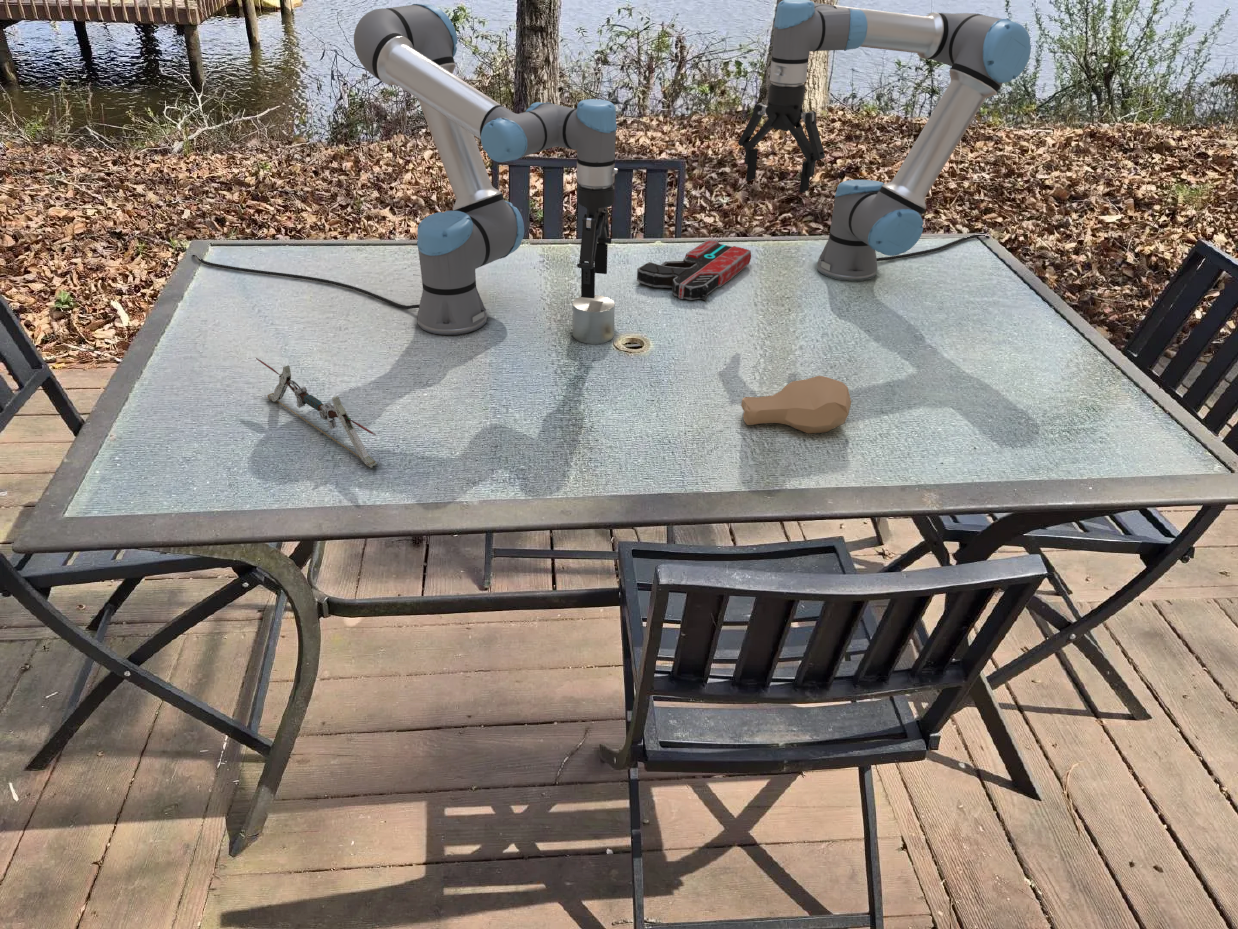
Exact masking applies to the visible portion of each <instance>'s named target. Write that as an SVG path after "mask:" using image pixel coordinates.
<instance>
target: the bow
mask: <svg viewBox="0 0 1238 929" xmlns="http://www.w3.org/2000/svg"><path fill="white" fill-rule="evenodd" d="M255 359H256V360H257V361H258V362H259V363H261V364H262V365H264V367H266V368H268V369H269V370H271V371H272V372H274V373H275V374H277V375H278V384H277V385H276V386H275V388H274V390H273V392H271V393H269V394H267V395H266V396H267V398H268V400H269V401H272V402H273V403H275V402H277V403H278V404H280V405H281V406H282V407H284V408H285V409H287V410H288V411H290V412H292V413H293V414H294V415H296V416H297V417H299V418H300V419H302V420H303V421H305V422H306V423H308V424H309V425H310V426H312V427H313V428H315V429H316V430H318V431H319V432H321V434H322V433H323V434H324V435H325V436H327V437H328V438H330V439H332V441H334V442H336V443H337V444H338V445H339V446H341V447H342V448H345V449H346V450H347V451H349V452H350V453H351V454H353V455H355V456H356V457H358V458H359V459H361V461H362V462H363V463H364V464H365V465H366V466H367V467H368V468H370V469H372V468H373V467H374V466H378V463H377V462H376V460H374V458H372V457H371V455H370V454H369V453H368V451H367V449H366V447H365V445H364V443H363V442H362V440H361V438H360V436H359V434H358V433H357V431H356V429H355V426H354V425H353V424H355V425H356V426H358V428H360V429H361V430H364V431H365V432H368V433H369V434H370V435H373V436H376V433H375V432H373V431H372V430H370V429H369V428H367V427H365V426H364V425H362V424H360V423H358V422H357V421H354V420H352V418H351V417H350V415H349V414H348V412H347V410H346V409H345V407H344V405H343V403H342V401H341V399H340V397H339V396H338V395H336V396H333V397H332V398H331V399H332V403H331V402H328V403H325V404H324V403H323V402H322V401H321V400H320V399H318V398H317V397H316V396H313V395H312V394H309V392H308V389H307V387H306V386H302V387H301V386H300V385H299V384H298V383H297V382H296V381H295V380H292V372H291V368H290V365H284V366H283V367H282V372H281V373H279V372H278V371H277V370H275V368H273V367H271V366H270V365H269V364H267V363H266V362H264V361H263V360H261V359H259V358H258V357H255ZM288 387H289V389H290V390H291V391H292V392H293V394H294V396H295V398H296V406H297V408H298V409H301V408H302V407H306V405H308V406H309V407H311V408H312V409H314V410H315V411H317V412H319V416H320V418H321V420H324V421H326V422H327V425H328V429H330V430H333V429H336V428H337V427H338V425H337V422H336V420H335V418H338V420H339V421H340V423H341V425H342V427H343V429H344V430H345V432H346V434H347V436H348V438H349V440H350V442H351V444H352V445H353V447H354V449H355V451H356V452H354V451H353V450H351V449H350V448H348V447H346V446H345V445H344V444H343V443H340V441H338V440H336V439H335V438H333V437H332V436H330V435H329V434H328V433H326V432H324V431H323V430H321V429H320V428H318V427H317V426H316V425H314V424H313V423H312V422H310V421H308V420H307V419H306V418H304V417H302V416H301V415H300V414H298V413H297V412H295V411H293V410H292V409H290V408H289V407H288V406H286V405H284V403H282V402H280V400H282V399H283V398H284V395H285V394H286V393H287V389H288Z"/></svg>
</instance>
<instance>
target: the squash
mask: <svg viewBox="0 0 1238 929" xmlns="http://www.w3.org/2000/svg"><path fill="white" fill-rule="evenodd" d="M851 399H852V398H851V394H850V391H849V388H848V386H847V385H846V384H845V383H844V382H843V381H840V380H837V379H834V378H831V377H827V376H823V375H816V376H813V377H809V378H805V379H800V380H793V381H791V382H789V383H788V384H786V385H785V386H784V387H783V388H782V389H781V390H780V391H778V392H776V393H774V394H773V395H765V396H745V397H743V398H742V399H741V404H740V406H741V409H742V411H743V417H742V418H743V420H744V423H745V424H746V425H747V426H751V425H759V424H774V423H776V424H781V425H786V426H789V427H792V428H793V429H795V430H797V431H801V432H803V433H806V434H823V433H828V432H830V431H832V430H834V429H836V428H838V427H840V426H842V425H844V424H846V422H847V418H848V416H849V414H850V410H851V405H852V400H851Z"/></svg>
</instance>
